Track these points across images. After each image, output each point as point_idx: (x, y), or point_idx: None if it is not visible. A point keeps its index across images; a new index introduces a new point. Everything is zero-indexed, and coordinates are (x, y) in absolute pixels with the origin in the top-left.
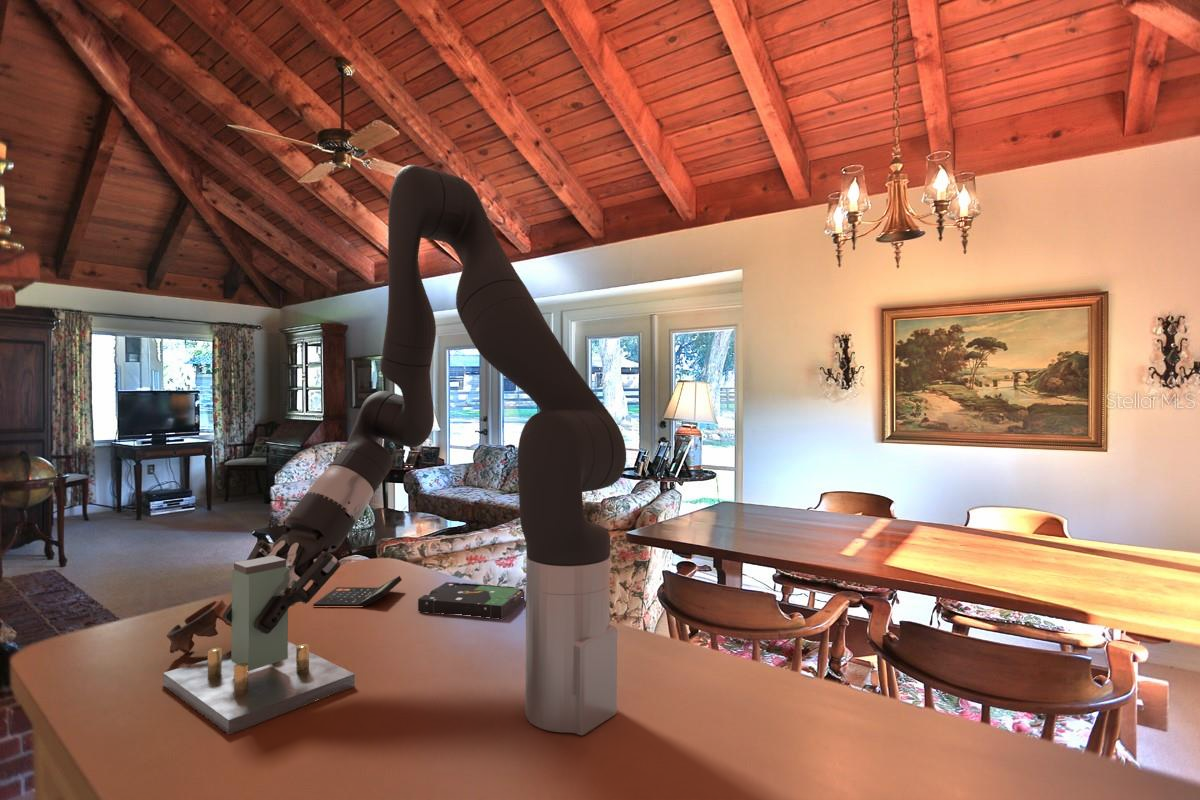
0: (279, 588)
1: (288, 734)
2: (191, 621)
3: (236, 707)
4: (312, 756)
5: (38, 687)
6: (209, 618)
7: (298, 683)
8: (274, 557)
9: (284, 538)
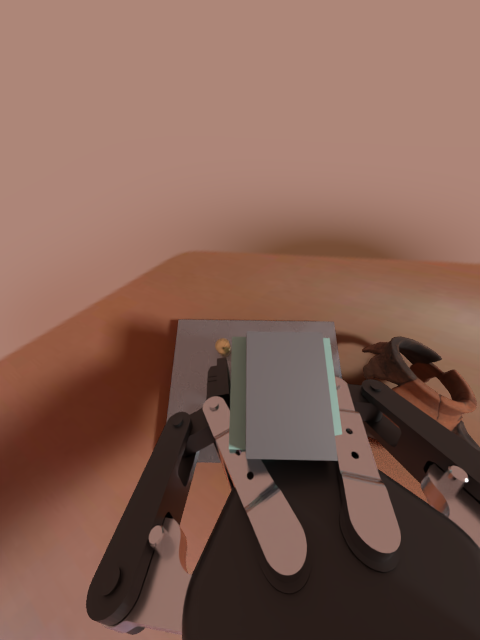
0: (223, 407)
1: (139, 354)
2: (447, 376)
3: (195, 333)
4: (91, 349)
5: (398, 262)
6: (395, 372)
7: (195, 399)
8: (303, 446)
9: (460, 596)
